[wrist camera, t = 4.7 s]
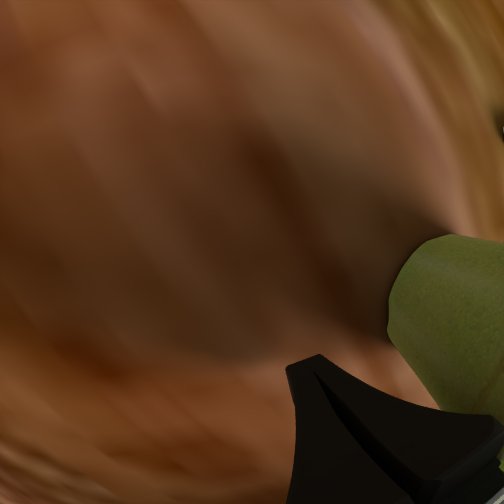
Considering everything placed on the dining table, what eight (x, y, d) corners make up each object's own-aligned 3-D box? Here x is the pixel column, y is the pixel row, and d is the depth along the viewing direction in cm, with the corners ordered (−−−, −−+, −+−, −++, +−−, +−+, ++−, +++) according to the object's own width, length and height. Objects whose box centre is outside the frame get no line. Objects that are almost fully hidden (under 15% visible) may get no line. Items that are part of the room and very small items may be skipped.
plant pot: (503, 258, 14) (613, 311, 6) (420, 390, 15) (507, 482, 7) (429, 153, 11) (621, 183, 3) (309, 344, 12) (431, 519, 4)
